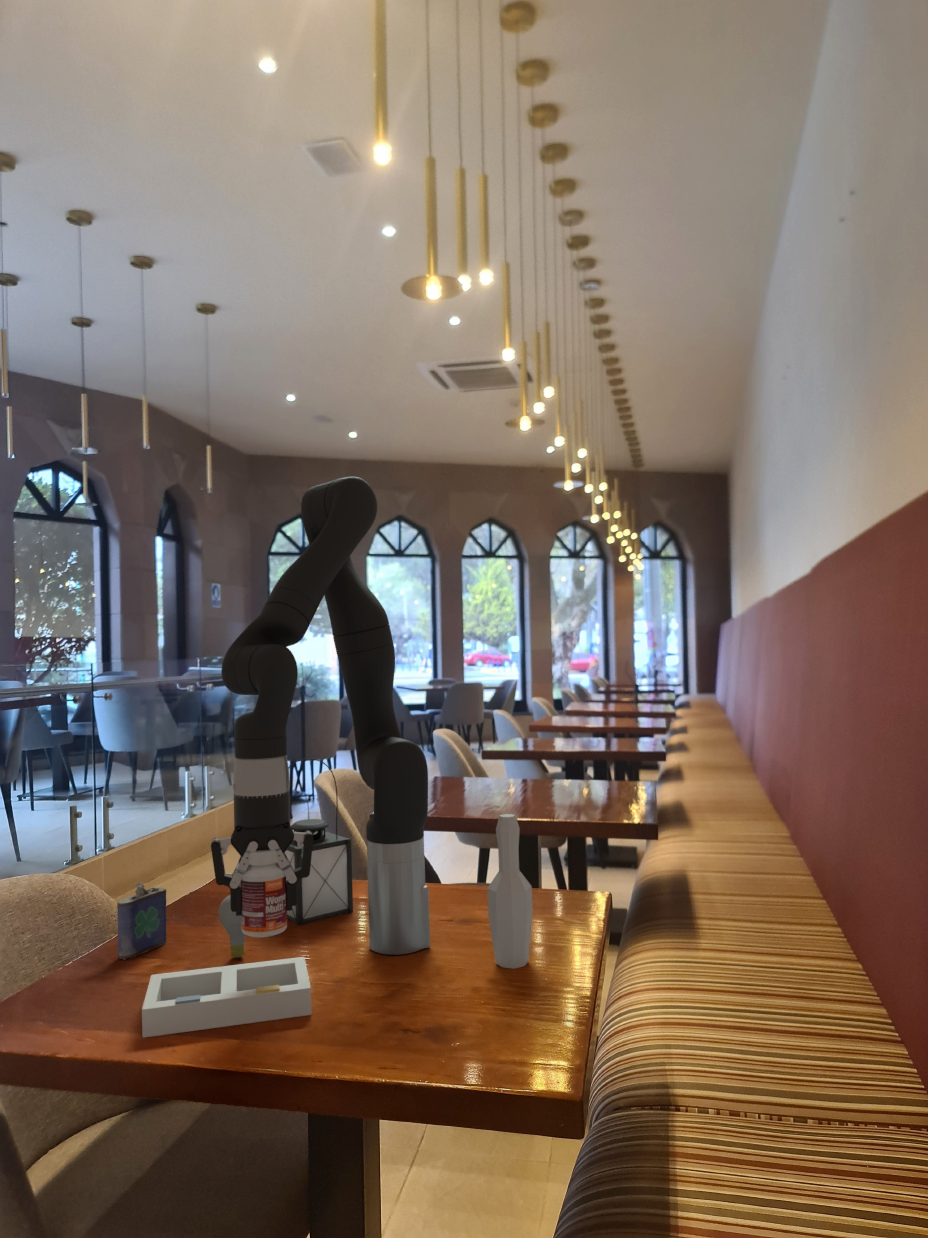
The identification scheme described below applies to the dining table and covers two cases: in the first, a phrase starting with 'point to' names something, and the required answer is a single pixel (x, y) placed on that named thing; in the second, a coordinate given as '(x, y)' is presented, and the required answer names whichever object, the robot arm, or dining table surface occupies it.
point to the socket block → (226, 996)
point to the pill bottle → (263, 896)
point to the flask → (141, 921)
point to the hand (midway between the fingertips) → (263, 911)
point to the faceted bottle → (510, 900)
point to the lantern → (322, 872)
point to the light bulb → (232, 928)
